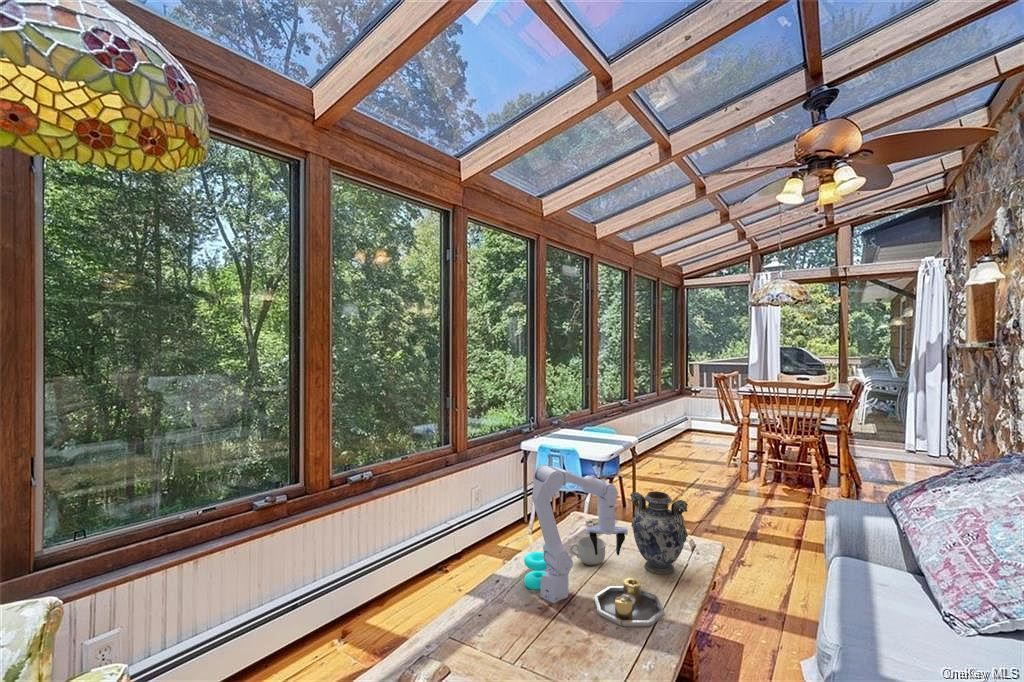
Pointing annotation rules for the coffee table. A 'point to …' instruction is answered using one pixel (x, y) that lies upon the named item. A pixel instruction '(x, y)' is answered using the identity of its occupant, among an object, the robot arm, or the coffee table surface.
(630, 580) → the gear
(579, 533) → the coffee table surface
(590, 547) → the teacup
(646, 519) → the decorative vase
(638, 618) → the tray
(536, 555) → the donuts
